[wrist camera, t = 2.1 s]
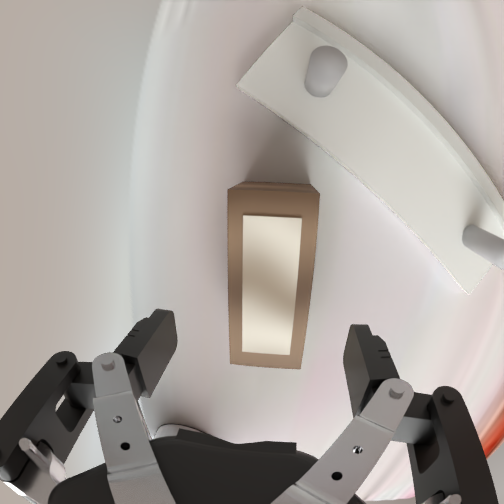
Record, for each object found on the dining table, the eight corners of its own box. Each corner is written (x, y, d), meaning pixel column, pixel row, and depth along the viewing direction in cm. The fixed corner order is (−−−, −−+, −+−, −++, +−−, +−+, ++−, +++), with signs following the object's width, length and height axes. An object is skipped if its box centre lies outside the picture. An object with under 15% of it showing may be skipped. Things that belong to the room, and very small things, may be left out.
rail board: (461, 288, 21) (496, 323, 15) (239, 90, 19) (219, 63, 12) (506, 226, 19) (548, 247, 12) (301, 20, 16) (304, -24, 10)
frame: (298, 324, 24) (300, 370, 18) (242, 320, 25) (229, 365, 19) (310, 184, 20) (320, 194, 15) (243, 181, 21) (227, 189, 15)
